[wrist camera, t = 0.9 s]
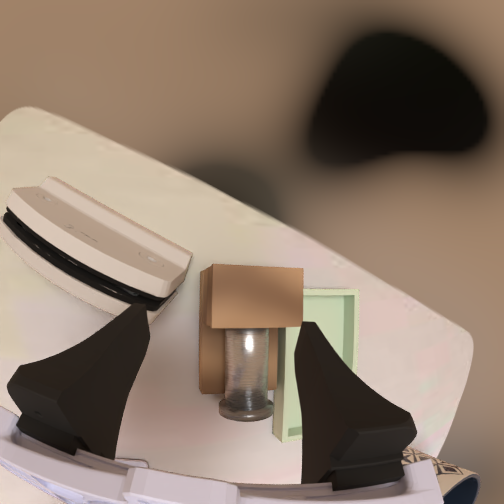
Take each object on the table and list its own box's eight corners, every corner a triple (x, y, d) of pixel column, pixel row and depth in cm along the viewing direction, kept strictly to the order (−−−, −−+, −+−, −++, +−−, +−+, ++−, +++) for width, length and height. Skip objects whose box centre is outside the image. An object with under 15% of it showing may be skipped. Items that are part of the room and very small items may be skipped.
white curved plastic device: (196, 254, 27) (190, 282, 18) (174, 298, 28) (159, 345, 18) (53, 175, 24) (-6, 167, 14) (36, 218, 24) (-25, 227, 15)
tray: (339, 420, 29) (351, 427, 27) (272, 433, 27) (281, 442, 24) (345, 290, 32) (359, 289, 29) (276, 289, 29) (286, 288, 27)
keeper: (270, 385, 28) (299, 405, 21) (199, 388, 26) (212, 414, 19) (272, 275, 29) (303, 268, 23) (200, 271, 27) (213, 263, 21)
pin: (262, 401, 26) (281, 417, 22) (214, 404, 25) (225, 423, 20) (264, 290, 28) (284, 288, 23) (215, 288, 26) (226, 286, 22)
